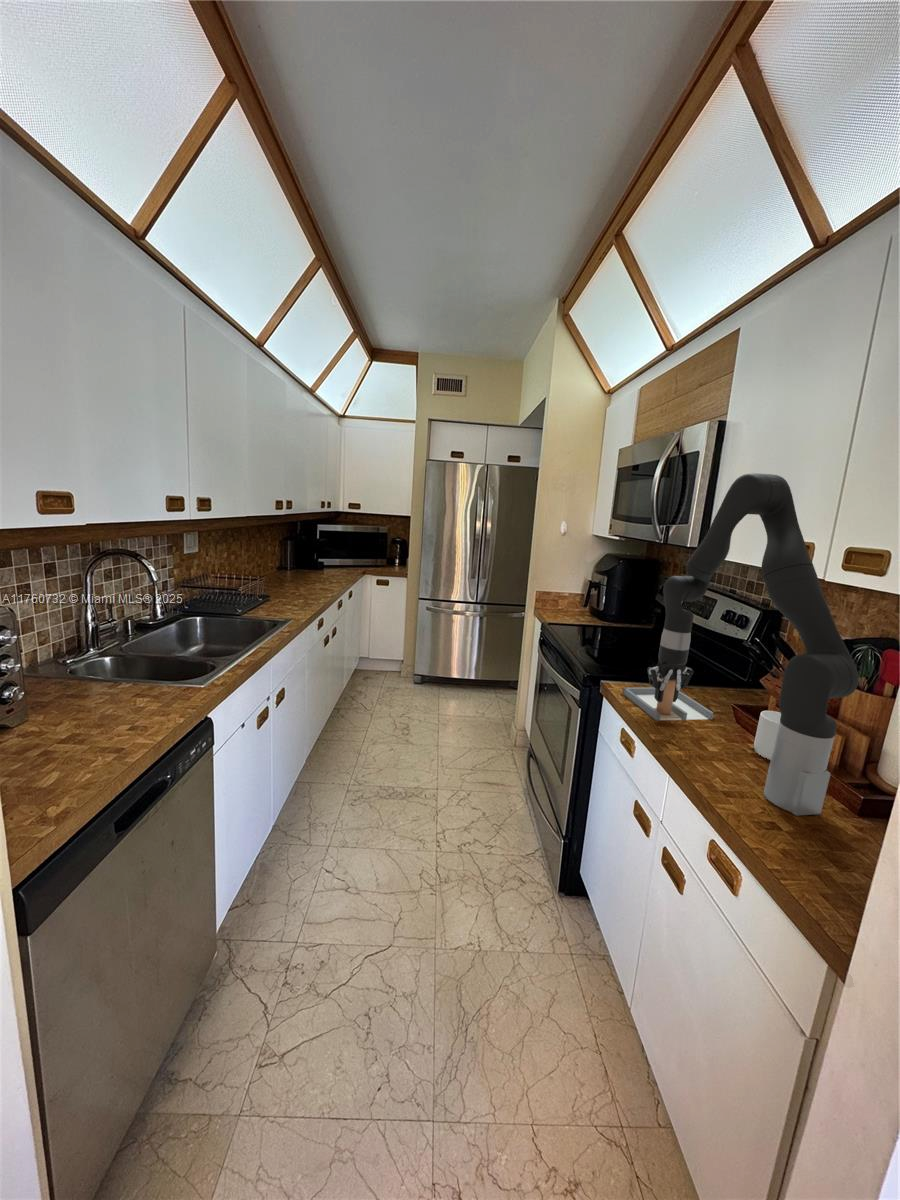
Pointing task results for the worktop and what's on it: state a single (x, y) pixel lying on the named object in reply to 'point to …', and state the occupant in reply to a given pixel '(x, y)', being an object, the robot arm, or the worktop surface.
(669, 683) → the peg
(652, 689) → the grey shallow tray
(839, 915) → the worktop surface
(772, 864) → the worktop surface
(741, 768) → the worktop surface
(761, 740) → the cup
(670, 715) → the pad
